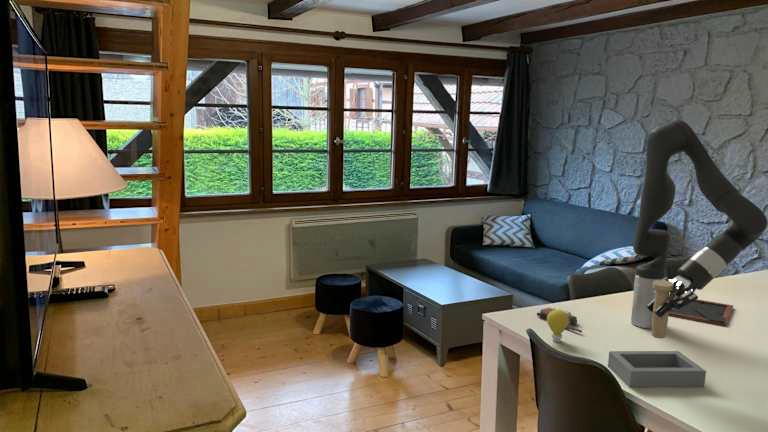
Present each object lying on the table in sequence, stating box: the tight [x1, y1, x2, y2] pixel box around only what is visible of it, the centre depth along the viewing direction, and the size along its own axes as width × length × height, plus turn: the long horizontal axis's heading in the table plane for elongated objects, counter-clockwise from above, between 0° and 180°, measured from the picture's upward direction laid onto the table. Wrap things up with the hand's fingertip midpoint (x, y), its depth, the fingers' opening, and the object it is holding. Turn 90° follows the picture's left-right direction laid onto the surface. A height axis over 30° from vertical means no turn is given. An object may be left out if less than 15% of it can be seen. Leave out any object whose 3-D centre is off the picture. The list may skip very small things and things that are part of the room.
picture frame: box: [668, 298, 734, 328], centre depth 208 cm, size 20×2×25 cm
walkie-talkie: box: [536, 307, 583, 333], centre depth 193 cm, size 9×4×20 cm
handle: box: [651, 280, 674, 340], centre depth 150 cm, size 5×6×15 cm
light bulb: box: [546, 308, 569, 343], centre depth 177 cm, size 7×7×10 cm
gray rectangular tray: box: [607, 350, 707, 388], centre depth 153 cm, size 20×13×4 cm, turn 92°
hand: (653, 312), depth 150 cm, fingers closed on handle, 3 cm apart
